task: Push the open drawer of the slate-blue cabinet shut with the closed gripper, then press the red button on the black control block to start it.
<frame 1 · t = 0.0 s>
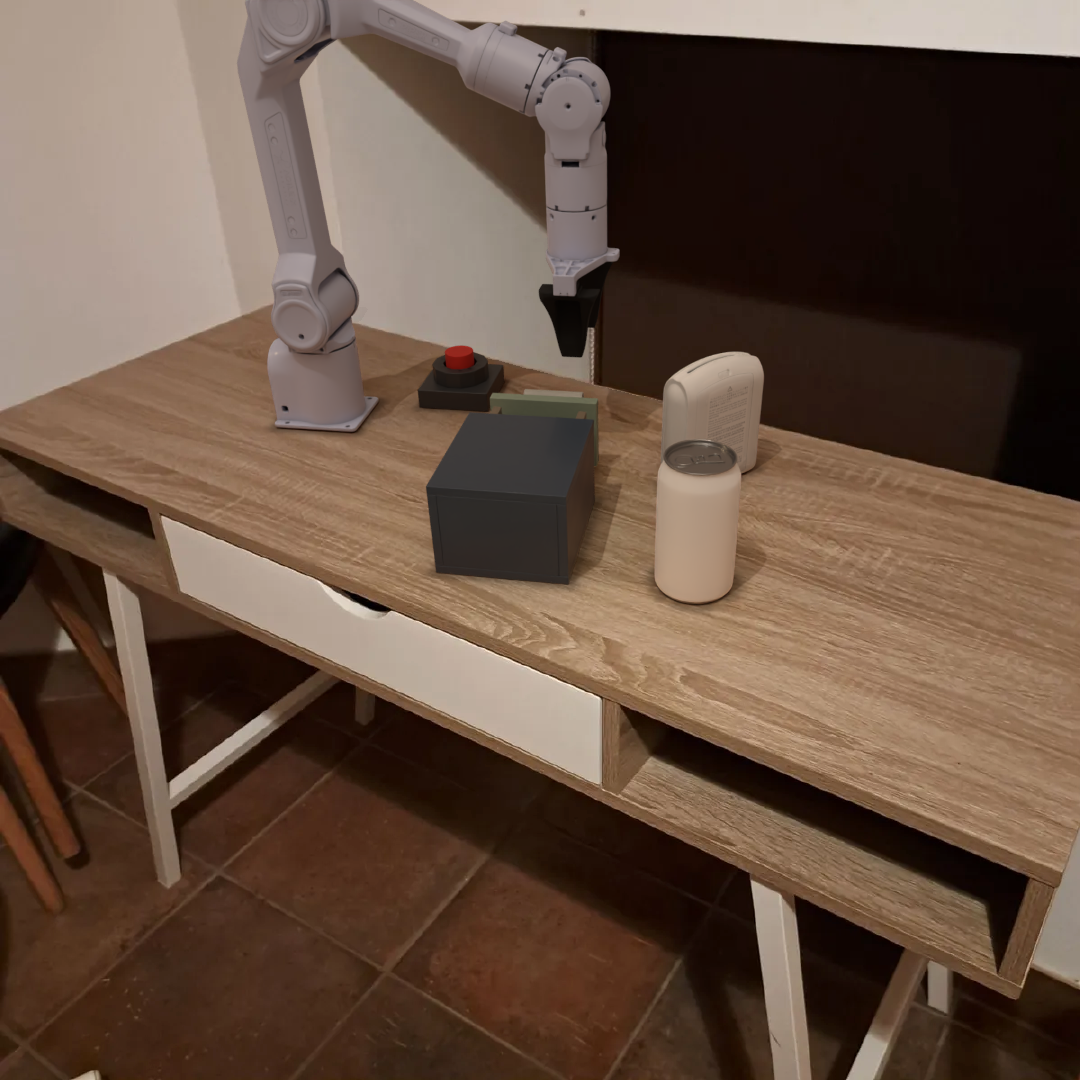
hand: (579, 340, 102), 10 cm above the table, tool pointing down, fingers open, 7 cm apart
drawer: (538, 445, 96), point 4 cm above the table, slide at 5.0 cm
cabinet: (519, 535, 91), on the table
control block: (462, 394, 116), on the table
button: (459, 358, 114), point 4 cm above the table, slide at 0.1 cm
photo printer: (708, 477, 99), on the table
can: (693, 584, 84), on the table
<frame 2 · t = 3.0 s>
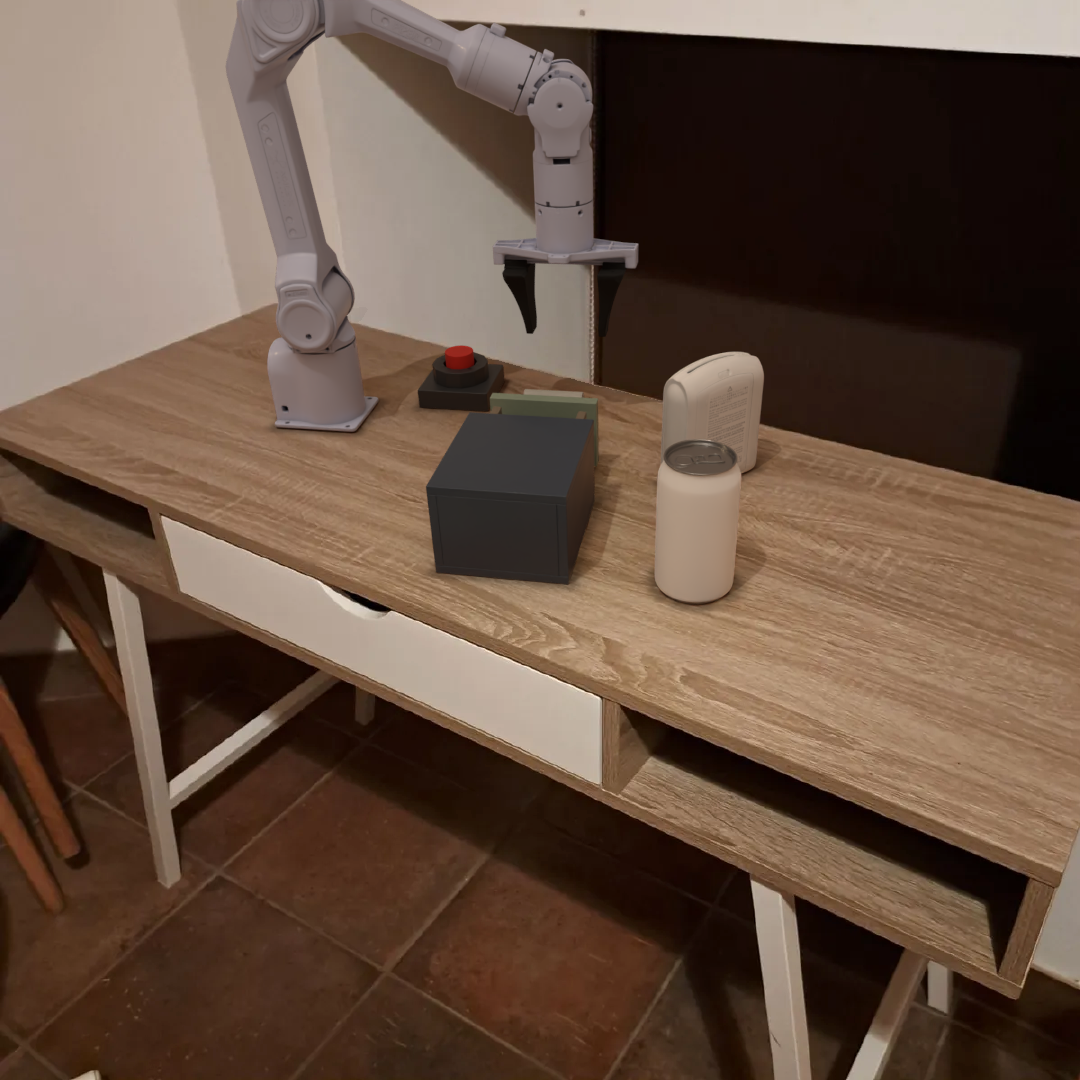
hand: (567, 331, 106), 9 cm above the table, tool pointing down, fingers open, 7 cm apart
nothing on the table moved.
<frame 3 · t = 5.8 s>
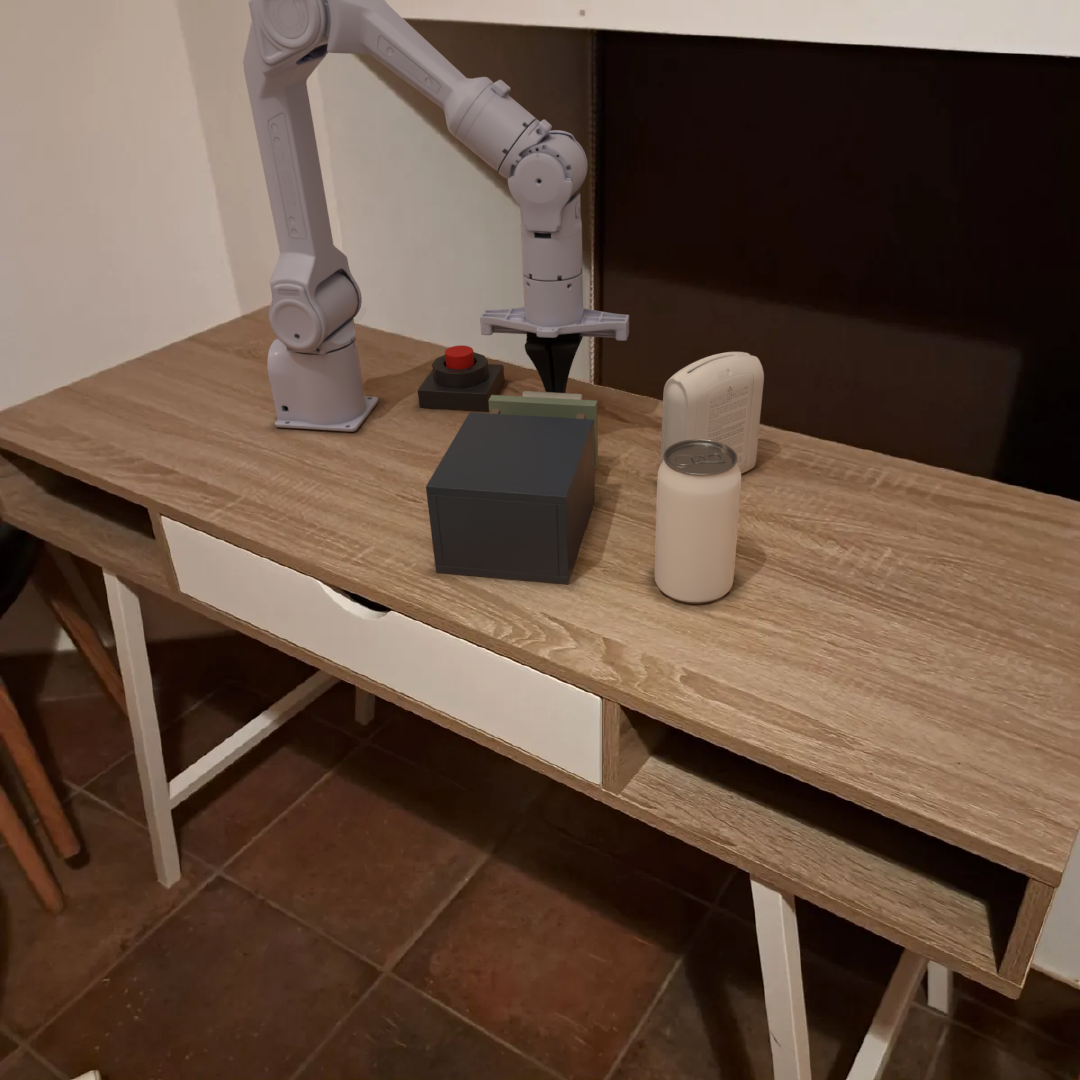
hand: (556, 401, 104), 4 cm above the table, tool pointing down, fingers closed, pressing on drawer
drawer: (536, 448, 96), point 4 cm above the table, slide at 4.5 cm, touching gripper
everything else where it was.
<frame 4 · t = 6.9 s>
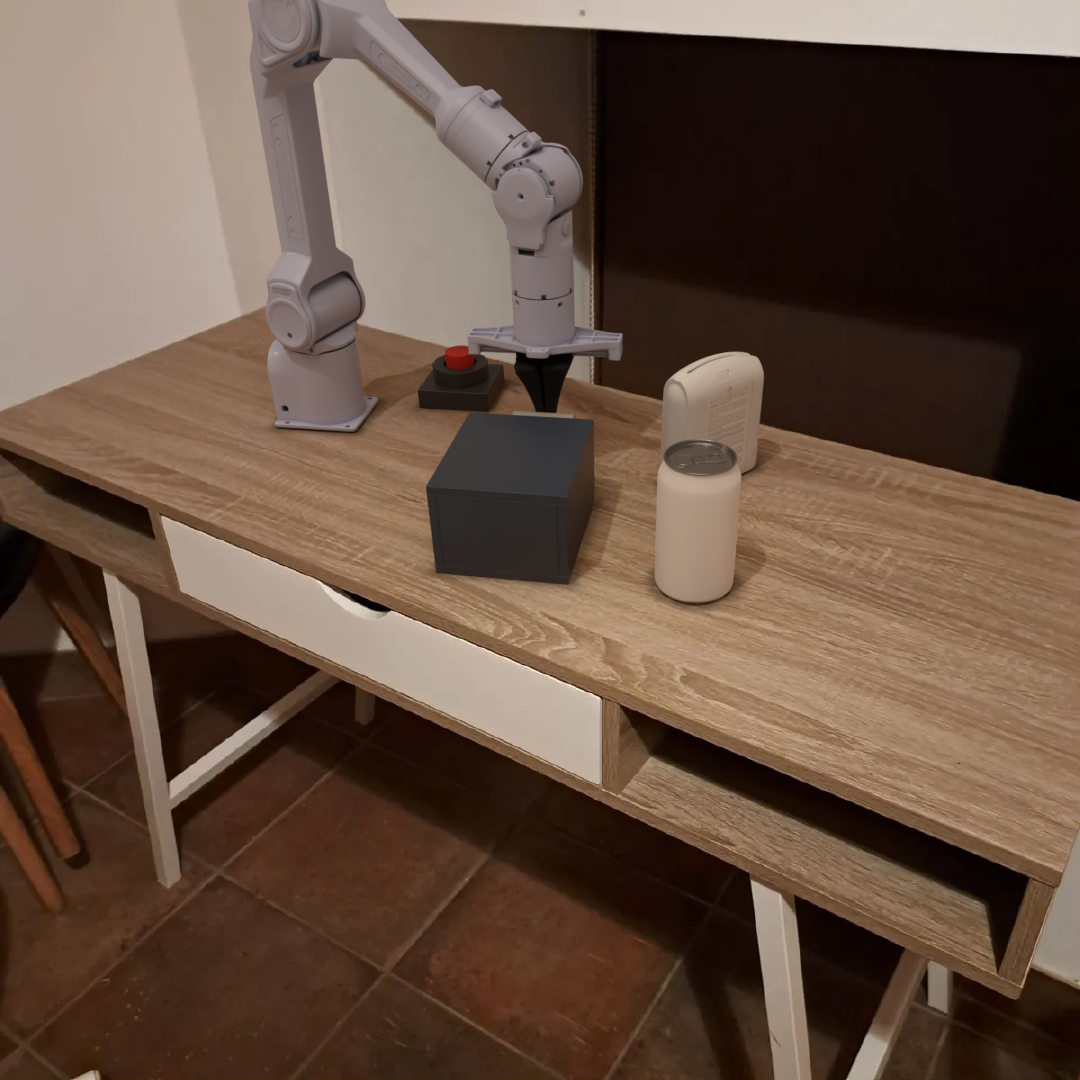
hand: (548, 422, 100), 4 cm above the table, tool pointing down, fingers closed, pressing on drawer
drawer: (526, 471, 92), point 4 cm above the table, slide at 0.0 cm, touching cabinet, gripper
everything else where it was.
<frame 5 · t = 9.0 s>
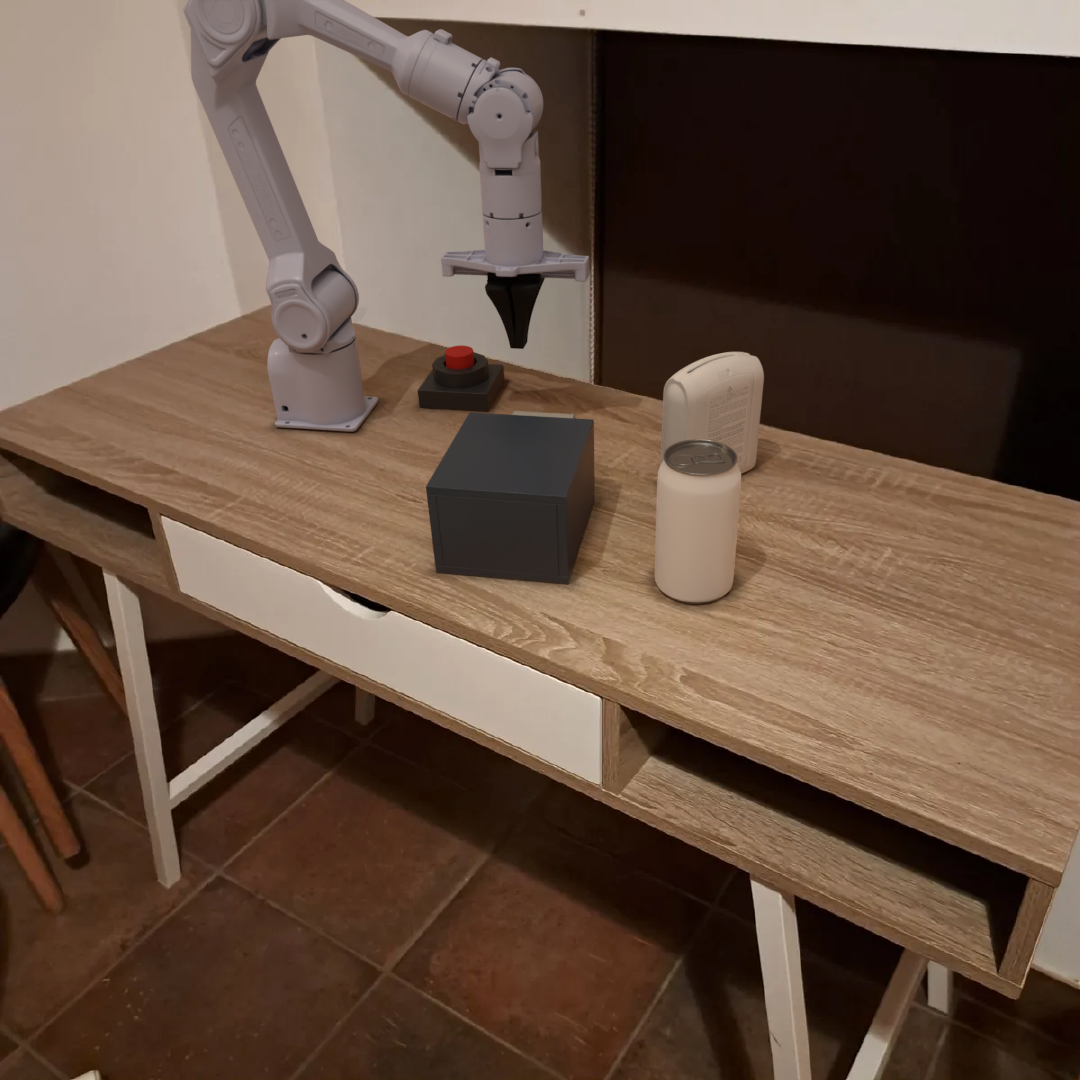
hand: (518, 345, 104), 9 cm above the table, tool pointing down, fingers closed
drawer: (526, 471, 92), point 4 cm above the table, slide at 0.0 cm
everything else where it was.
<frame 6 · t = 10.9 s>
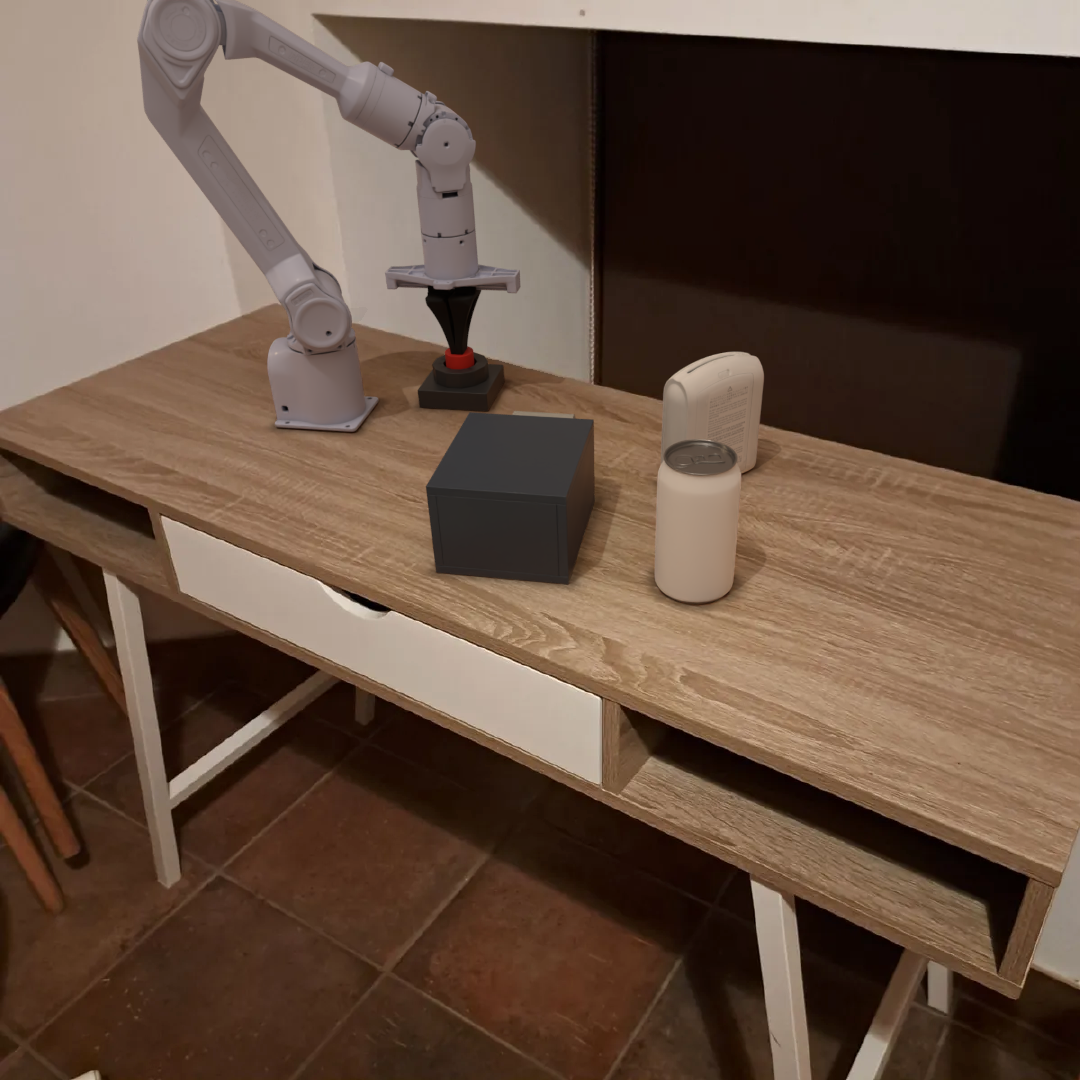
hand: (459, 351, 113), 5 cm above the table, tool pointing down, fingers closed, pressing on button
button: (459, 358, 114), point 4 cm above the table, slide at 0.1 cm, touching gripper
everything else where it was.
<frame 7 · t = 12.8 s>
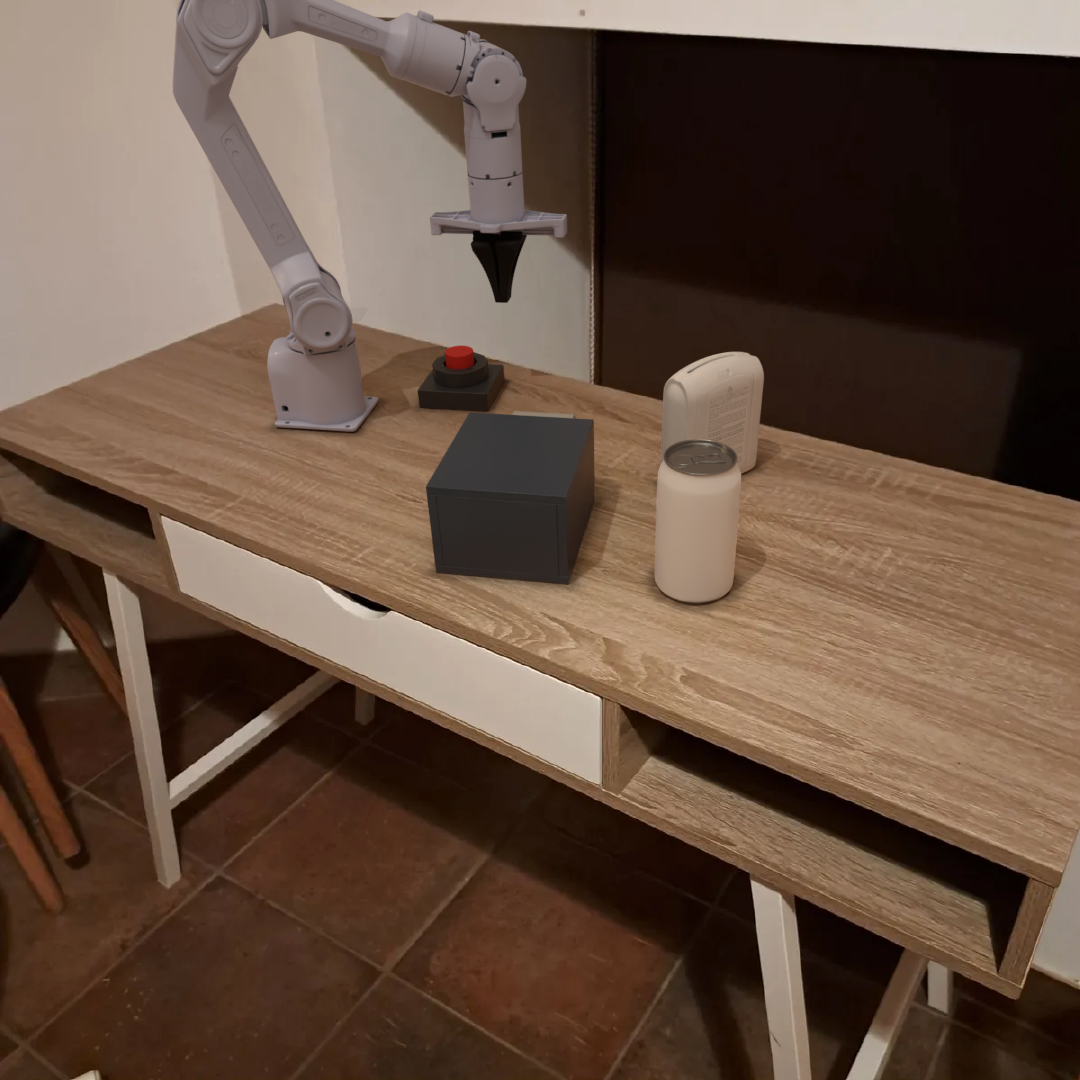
hand: (503, 299, 112), 10 cm above the table, tool pointing down, fingers closed
button: (459, 358, 114), point 4 cm above the table, slide at 0.1 cm
everything else where it was.
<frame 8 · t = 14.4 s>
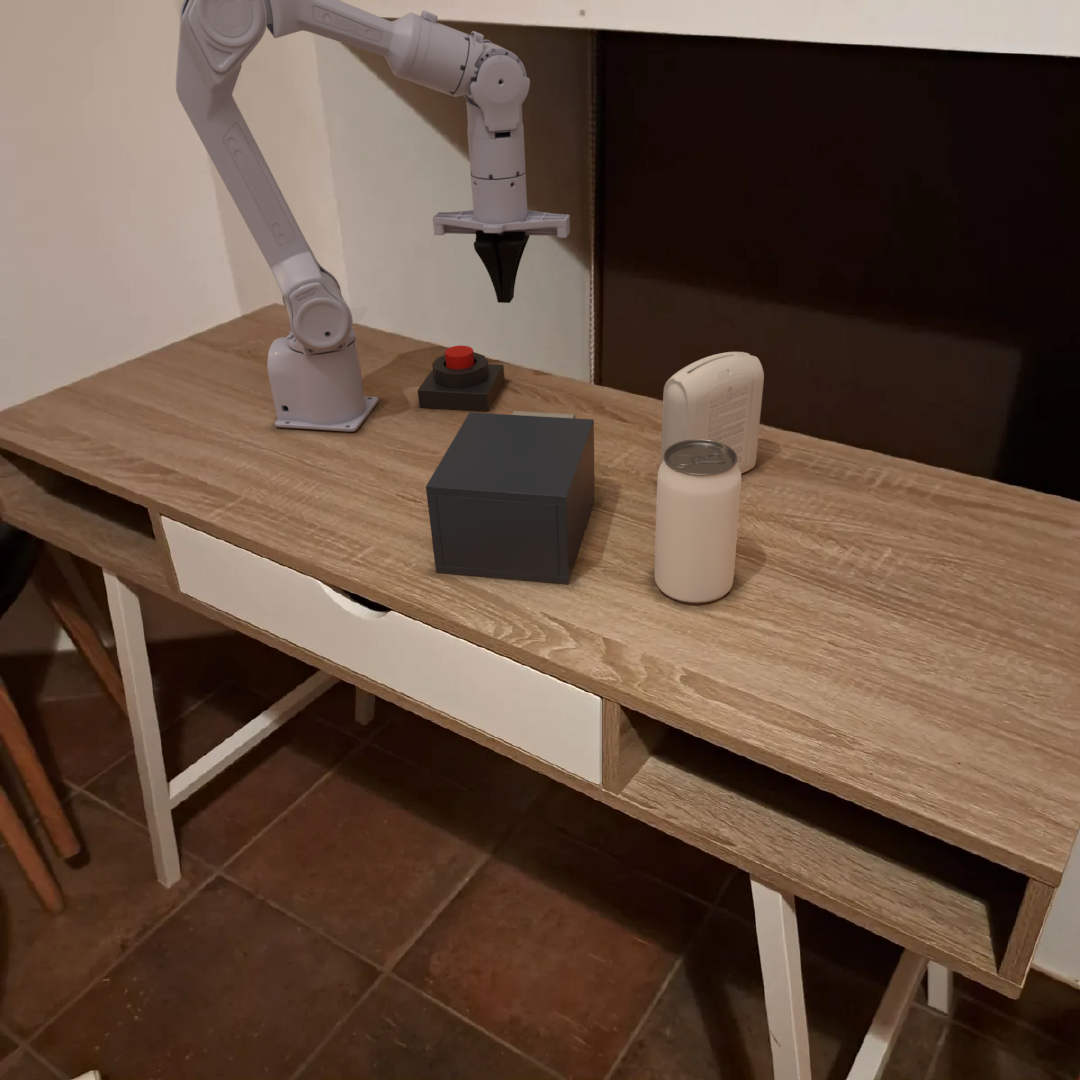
hand: (505, 299, 112), 10 cm above the table, tool pointing down, fingers closed
nothing on the table moved.
at the end: drawer slide at 0.0 cm; button pushed in 1.0 cm at the most during the clip, back to where it started at the end; button slide at 0.1 cm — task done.
